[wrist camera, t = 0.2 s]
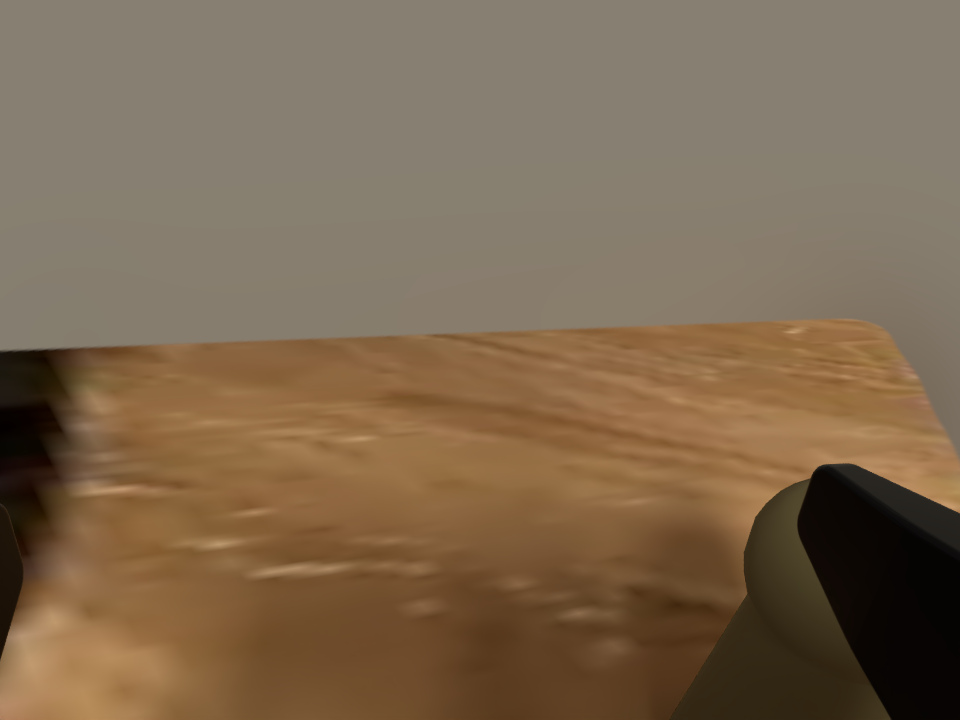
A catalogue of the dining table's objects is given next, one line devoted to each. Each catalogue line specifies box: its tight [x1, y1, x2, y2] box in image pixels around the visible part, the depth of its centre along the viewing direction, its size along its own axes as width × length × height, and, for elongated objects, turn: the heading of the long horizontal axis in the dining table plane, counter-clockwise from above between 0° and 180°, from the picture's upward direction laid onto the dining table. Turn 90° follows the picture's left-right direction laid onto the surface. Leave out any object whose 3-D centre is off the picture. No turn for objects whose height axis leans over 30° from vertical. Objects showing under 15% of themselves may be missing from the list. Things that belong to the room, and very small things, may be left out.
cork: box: [670, 478, 891, 720], centre depth 20 cm, size 6×6×11 cm
